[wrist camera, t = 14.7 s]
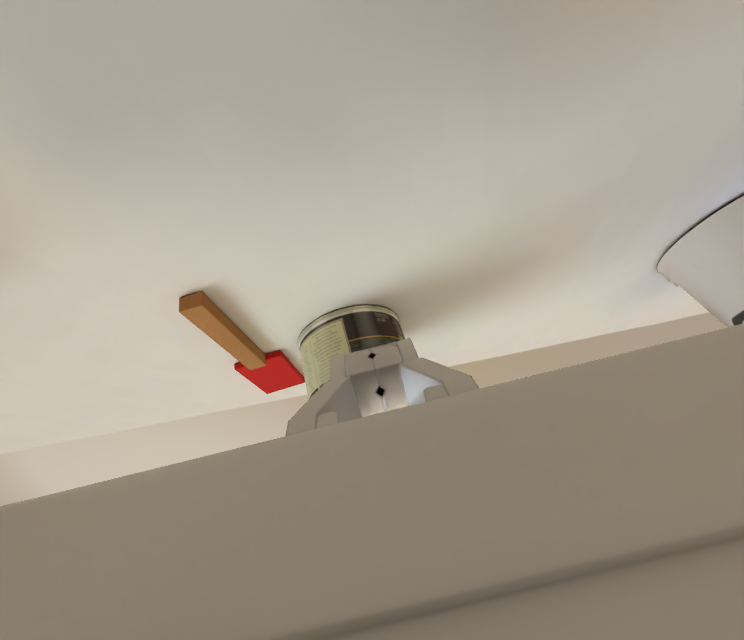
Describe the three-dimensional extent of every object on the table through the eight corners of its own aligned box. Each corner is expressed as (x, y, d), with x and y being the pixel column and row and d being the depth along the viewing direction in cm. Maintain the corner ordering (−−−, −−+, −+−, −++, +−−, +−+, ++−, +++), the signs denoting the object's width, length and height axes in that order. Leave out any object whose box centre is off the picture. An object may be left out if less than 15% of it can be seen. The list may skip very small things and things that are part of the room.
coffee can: (395, 290, 30) (461, 458, 23) (400, 341, 39) (448, 473, 32) (280, 325, 29) (310, 507, 22) (311, 368, 38) (340, 508, 31)
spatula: (222, 284, 23) (223, 298, 23) (304, 377, 40) (306, 387, 39) (157, 303, 23) (156, 318, 22) (266, 389, 40) (267, 398, 39)
